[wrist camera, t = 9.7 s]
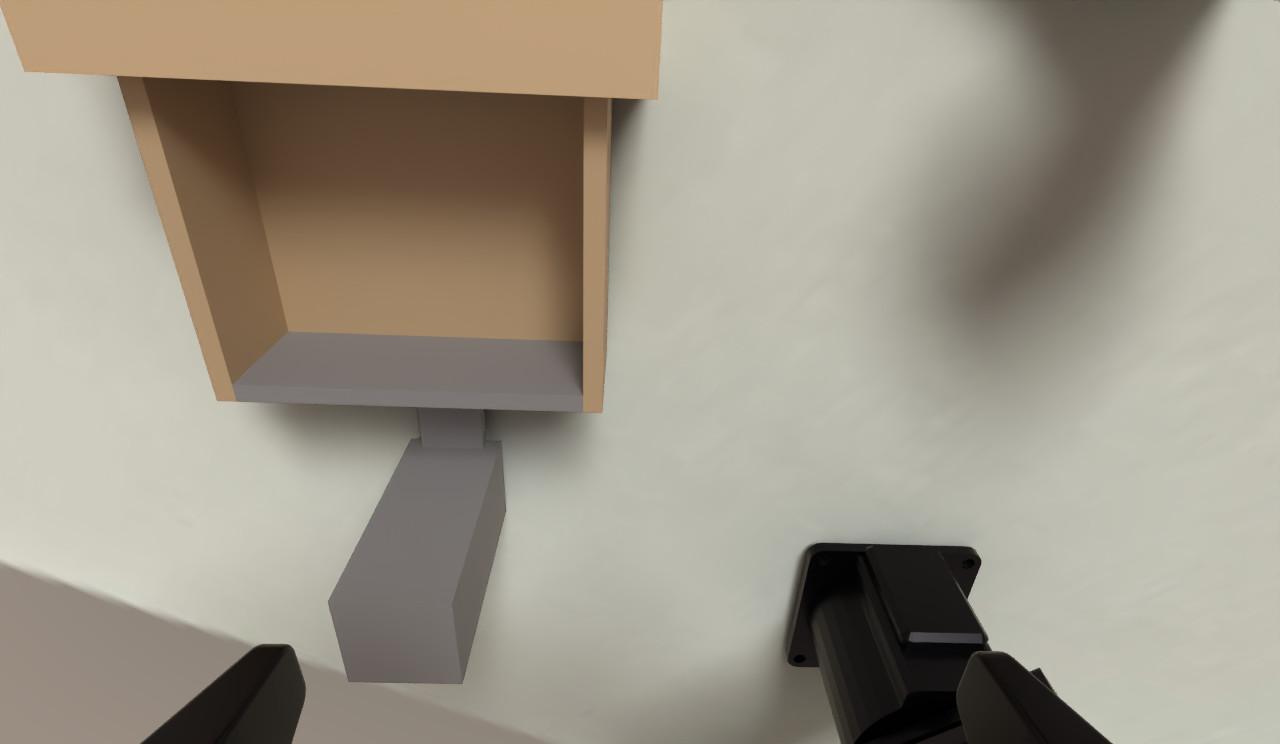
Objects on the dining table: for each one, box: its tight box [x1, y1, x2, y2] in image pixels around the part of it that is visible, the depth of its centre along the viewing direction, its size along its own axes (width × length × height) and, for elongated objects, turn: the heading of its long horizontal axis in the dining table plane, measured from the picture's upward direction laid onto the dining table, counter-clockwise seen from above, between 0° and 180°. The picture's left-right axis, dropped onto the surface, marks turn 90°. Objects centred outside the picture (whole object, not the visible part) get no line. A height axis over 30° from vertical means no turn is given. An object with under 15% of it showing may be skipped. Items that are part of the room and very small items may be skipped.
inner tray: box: [117, 76, 612, 684], centre depth 16 cm, size 20×10×7 cm, turn 178°
